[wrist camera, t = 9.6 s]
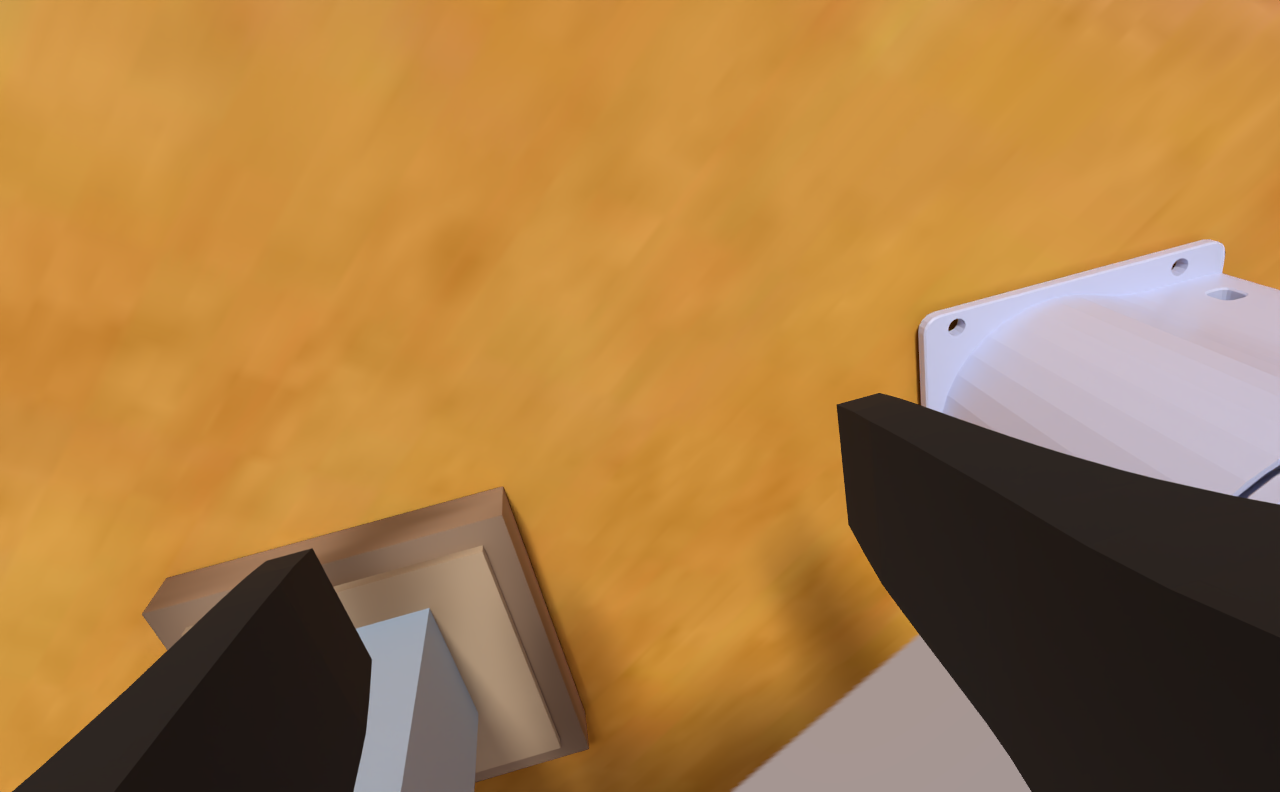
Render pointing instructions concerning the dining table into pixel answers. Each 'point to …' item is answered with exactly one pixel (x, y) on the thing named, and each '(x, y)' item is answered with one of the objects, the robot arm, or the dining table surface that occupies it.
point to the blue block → (416, 711)
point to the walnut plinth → (437, 615)
